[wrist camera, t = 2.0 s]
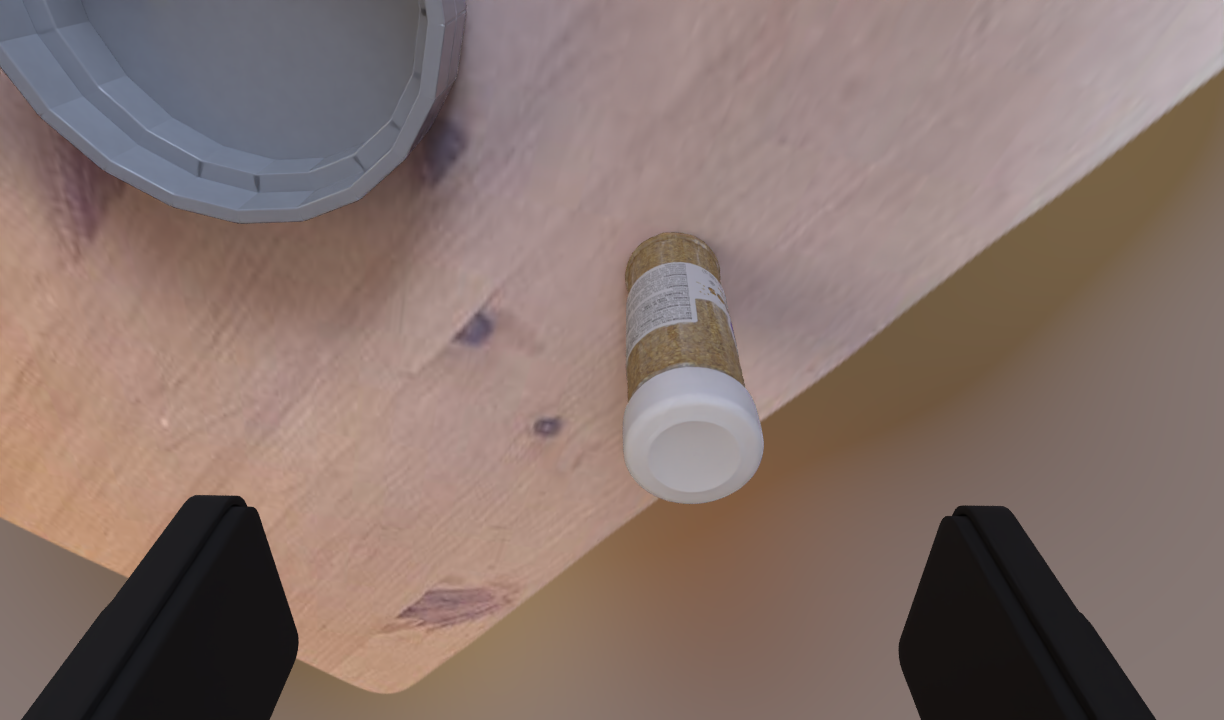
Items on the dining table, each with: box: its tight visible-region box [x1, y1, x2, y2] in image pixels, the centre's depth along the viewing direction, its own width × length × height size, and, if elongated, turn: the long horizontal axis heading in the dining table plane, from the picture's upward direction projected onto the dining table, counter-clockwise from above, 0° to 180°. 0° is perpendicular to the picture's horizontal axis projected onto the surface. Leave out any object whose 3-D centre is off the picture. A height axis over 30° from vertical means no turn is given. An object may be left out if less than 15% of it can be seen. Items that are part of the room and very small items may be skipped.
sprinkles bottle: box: [623, 232, 764, 504], centre depth 28 cm, size 5×5×13 cm
